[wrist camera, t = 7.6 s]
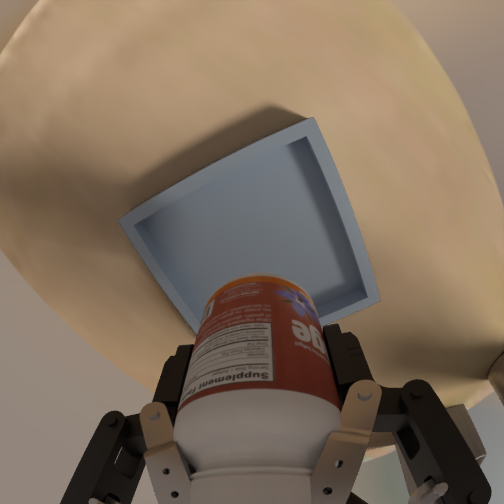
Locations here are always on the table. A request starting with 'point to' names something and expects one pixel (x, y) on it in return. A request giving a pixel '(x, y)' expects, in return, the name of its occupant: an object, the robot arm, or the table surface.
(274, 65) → the table surface
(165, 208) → the tray
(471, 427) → the planter
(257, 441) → the pill bottle
